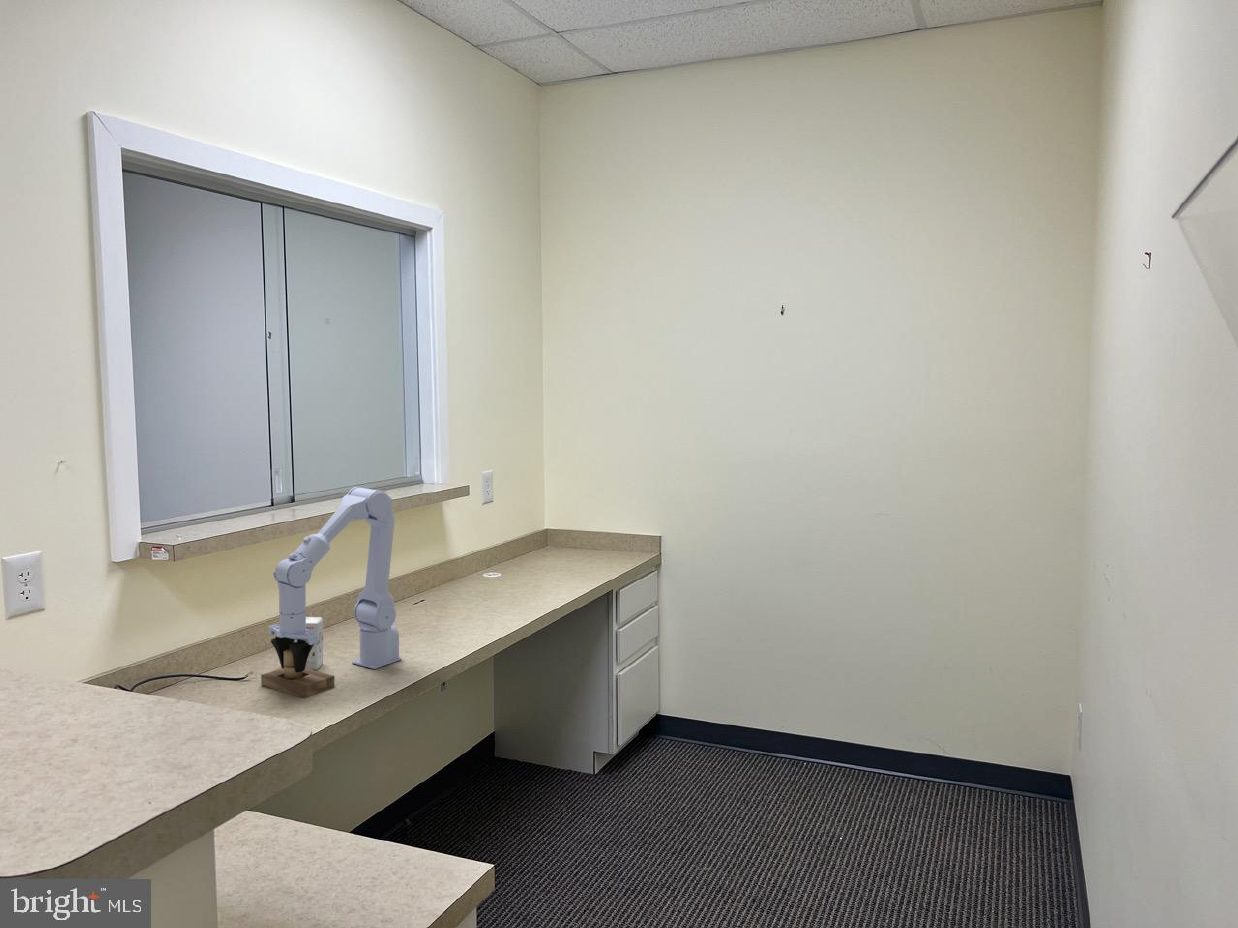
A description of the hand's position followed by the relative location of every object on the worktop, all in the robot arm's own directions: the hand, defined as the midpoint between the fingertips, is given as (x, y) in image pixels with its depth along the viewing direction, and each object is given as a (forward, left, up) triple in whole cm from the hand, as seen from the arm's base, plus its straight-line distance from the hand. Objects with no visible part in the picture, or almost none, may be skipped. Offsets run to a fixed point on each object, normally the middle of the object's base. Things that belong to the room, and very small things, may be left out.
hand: (293, 669), depth 212 cm
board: (-1, +1, -4) cm, 4 cm away
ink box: (-11, -9, -4) cm, 14 cm away
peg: (0, 0, -2) cm, 2 cm away
